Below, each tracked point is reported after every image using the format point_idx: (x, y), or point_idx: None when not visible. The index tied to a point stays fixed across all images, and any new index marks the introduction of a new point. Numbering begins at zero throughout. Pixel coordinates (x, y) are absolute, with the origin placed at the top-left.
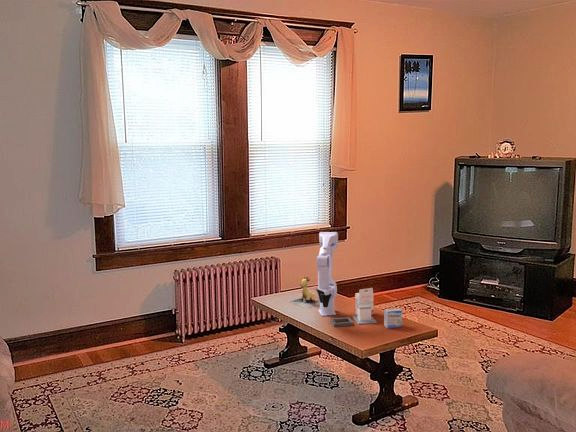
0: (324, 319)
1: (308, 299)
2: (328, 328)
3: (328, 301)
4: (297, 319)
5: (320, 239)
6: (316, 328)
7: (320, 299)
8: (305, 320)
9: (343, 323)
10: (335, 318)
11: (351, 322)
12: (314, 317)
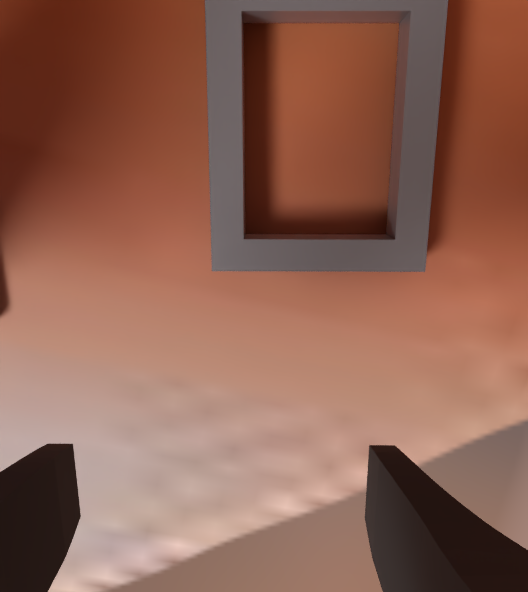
0: (124, 315)
1: None
2: (447, 340)
3: (473, 526)
4: (79, 582)
5: None
6: None
7: (46, 573)
8: (124, 517)
9: (434, 137)
10: (217, 200)
11: (447, 6)
12: (35, 410)
